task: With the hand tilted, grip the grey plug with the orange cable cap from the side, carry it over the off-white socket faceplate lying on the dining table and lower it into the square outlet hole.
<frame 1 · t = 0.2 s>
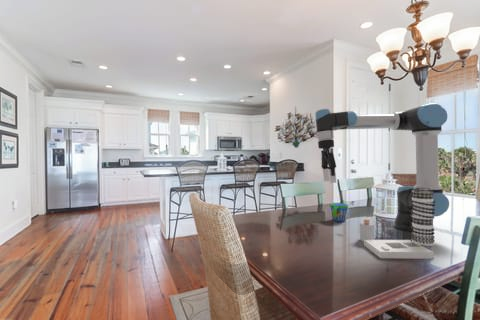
hand: (329, 181, 122), 27 cm above the table, tool pointing down, fingers open, 13 cm apart
plug: (366, 240, 114), on the table
socket plate: (396, 251, 101), on the table
decorative candle: (422, 243, 111), on the table
snack cup: (339, 220, 151), on the table
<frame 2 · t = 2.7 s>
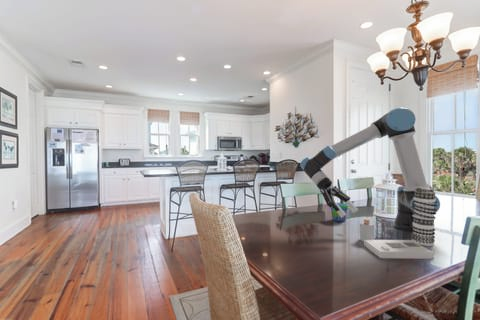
hand: (350, 213, 119), 12 cm above the table, tool tilted 45°, fingers open, 13 cm apart
decorative candle: (422, 242, 111), on the table, touching arm
everything else where it was.
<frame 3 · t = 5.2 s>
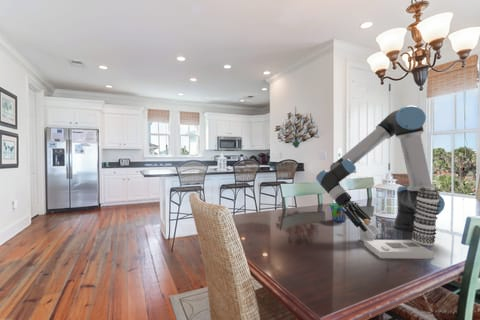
hand: (375, 235, 111), 3 cm above the table, tool tilted 45°, fingers closed on plug, 6 cm apart
plug: (366, 240, 114), on the table, touching gripper
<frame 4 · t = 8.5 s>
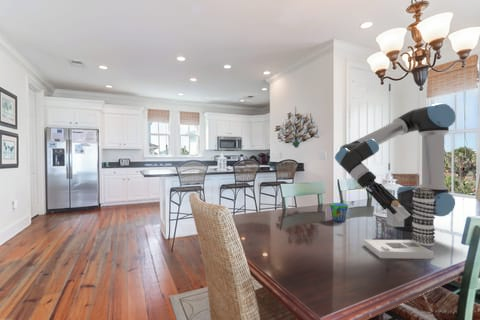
hand: (405, 218, 98), 14 cm above the table, tool tilted 45°, fingers closed on plug, 6 cm apart
plug: (395, 225, 101), point 11 cm above the table, touching gripper
decorative candle: (422, 242, 111), on the table
everything else where it was.
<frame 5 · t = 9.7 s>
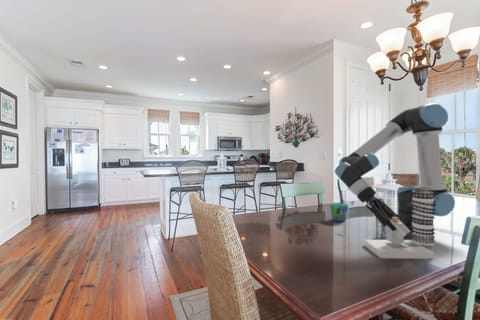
hand: (405, 235, 98), 8 cm above the table, tool tilted 45°, fingers closed on plug, 6 cm apart
plug: (394, 241, 101), point 4 cm above the table, touching gripper
everything else where it was.
when the fingers open (4 cm above the table, at t = 11.0 s): plug stays where it is, resting on socket plate.
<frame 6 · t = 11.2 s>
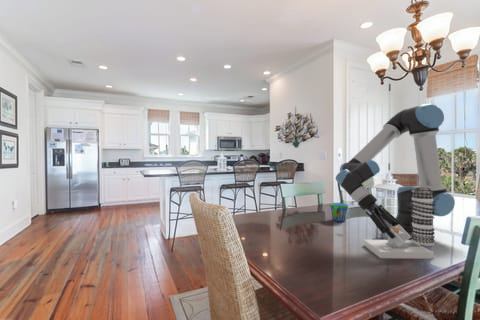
hand: (405, 241, 98), 5 cm above the table, tool tilted 45°, fingers open, 9 cm apart
plug: (396, 250, 101), resting on socket plate
everything else where it was.
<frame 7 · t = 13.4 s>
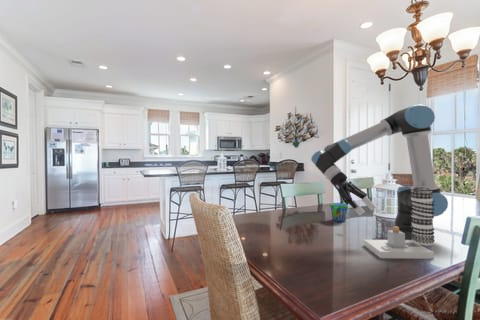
hand: (368, 211, 109), 15 cm above the table, tool tilted 45°, fingers open, 13 cm apart
decorative candle: (422, 242, 111), on the table, touching arm
everything else where it was.
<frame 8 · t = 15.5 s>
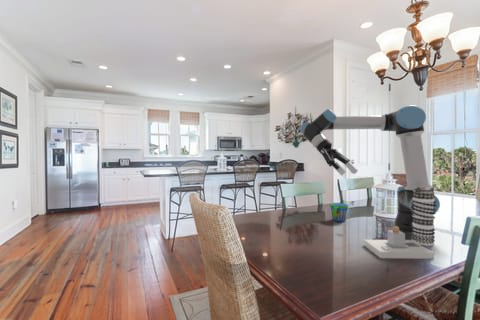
hand: (350, 173, 119), 32 cm above the table, tool tilted 45°, fingers open, 13 cm apart
nothing on the table moved.
at the end: plug 0.1 cm off-centre on the socket plate, point 0.2 cm above the socket plate's base; plug tilted 0°; the gripper is holding nothing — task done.
